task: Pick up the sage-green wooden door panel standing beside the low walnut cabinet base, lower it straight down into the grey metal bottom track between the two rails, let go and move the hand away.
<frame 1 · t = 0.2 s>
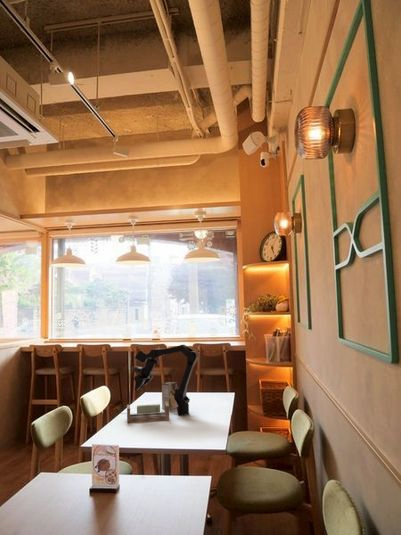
hand: (138, 389, 268), 14 cm above the table, tool tilted 30°, fingers open, 9 cm apart
cabinet base: (148, 419, 247), on the table
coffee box: (170, 408, 276), on the table
door panel: (148, 415, 259), on the table
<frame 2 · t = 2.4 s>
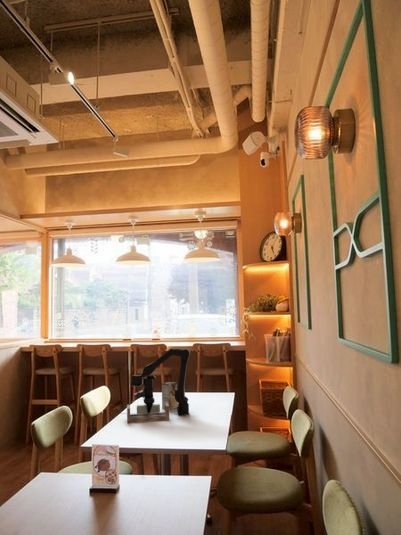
hand: (148, 412, 259), 2 cm above the table, tool pointing down, fingers closed on door panel, 3 cm apart
door panel: (148, 414, 259), on the table, touching gripper
everything else where it was.
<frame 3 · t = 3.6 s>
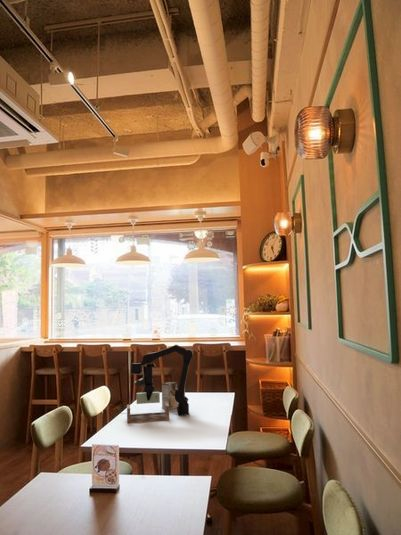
hand: (148, 400, 260), 9 cm above the table, tool pointing down, fingers closed on door panel, 3 cm apart
door panel: (148, 402, 259), point 7 cm above the table, touching gripper
everything else where it was.
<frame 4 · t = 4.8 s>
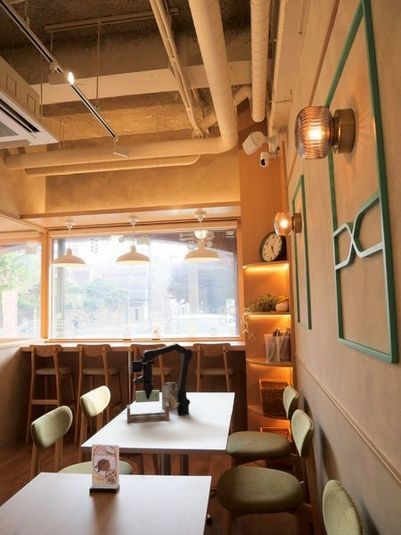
hand: (147, 398, 250), 12 cm above the table, tool pointing down, fingers closed on door panel, 3 cm apart
door panel: (147, 401, 250), point 10 cm above the table, touching gripper
everything else where it was.
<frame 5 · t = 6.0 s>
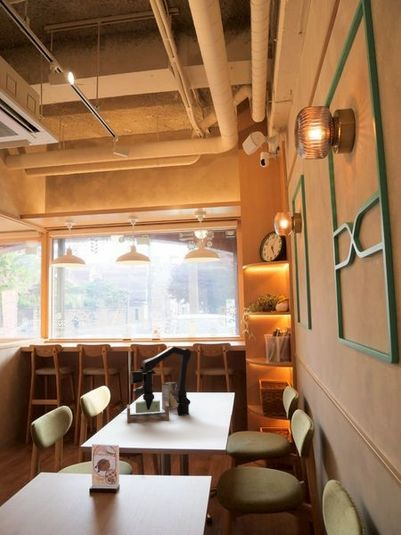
hand: (148, 409, 248), 6 cm above the table, tool pointing down, fingers closed on door panel, 3 cm apart
door panel: (147, 411, 248), point 4 cm above the table, touching gripper
everything else where it was.
when the fingers open (3 cm above the table, at t = 7.1 s): door panel stays where it is, resting on cabinet base.
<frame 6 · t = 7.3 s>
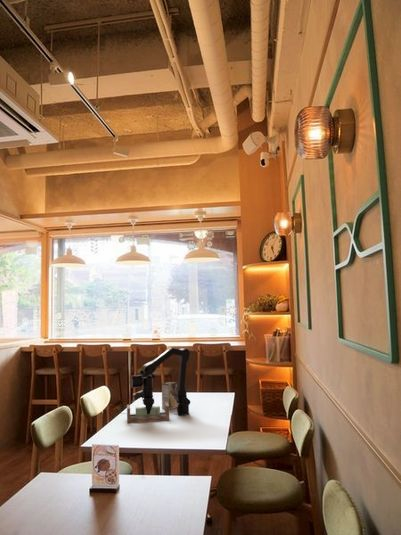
hand: (148, 413, 248), 3 cm above the table, tool pointing down, fingers open, 5 cm apart
door panel: (147, 417, 247), point 1 cm above the table, touching cabinet base
everything else where it was.
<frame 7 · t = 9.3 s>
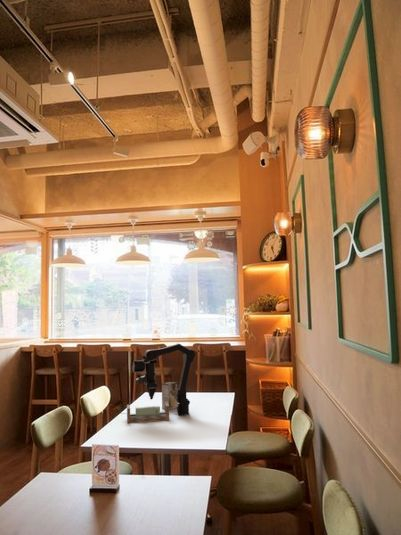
hand: (150, 397, 252), 12 cm above the table, tool pointing down, fingers open, 9 cm apart
nothing on the table moved.
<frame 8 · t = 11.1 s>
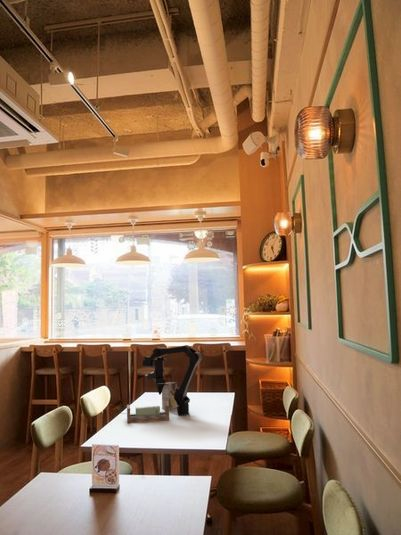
hand: (159, 393, 265), 12 cm above the table, tool pointing down, fingers open, 9 cm apart
nothing on the table moved.
at the end: door panel 0.1 cm off-centre on the cabinet base, point 1.0 cm above the cabinet base's base; door panel tilted 0°; the gripper is holding nothing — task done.
